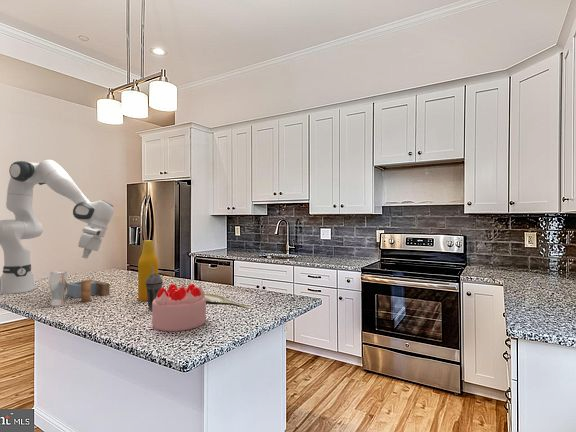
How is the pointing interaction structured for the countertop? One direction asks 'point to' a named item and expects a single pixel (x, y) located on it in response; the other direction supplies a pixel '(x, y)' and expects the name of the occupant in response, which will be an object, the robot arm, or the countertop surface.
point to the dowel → (86, 291)
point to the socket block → (79, 289)
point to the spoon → (222, 300)
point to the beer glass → (58, 287)
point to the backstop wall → (102, 288)
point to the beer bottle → (146, 268)
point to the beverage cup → (153, 287)
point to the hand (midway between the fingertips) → (84, 258)
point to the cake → (179, 308)
